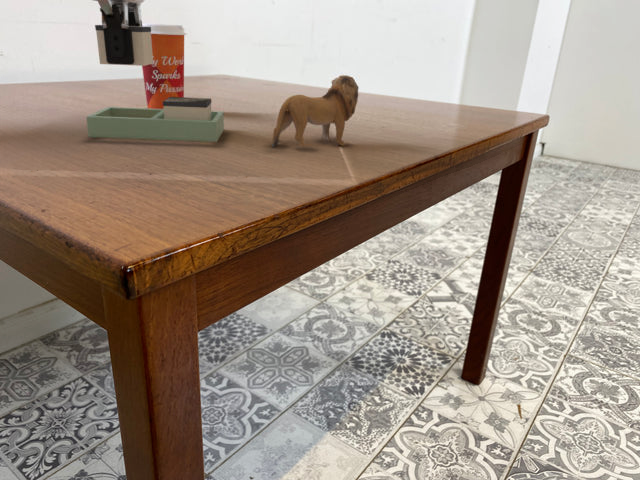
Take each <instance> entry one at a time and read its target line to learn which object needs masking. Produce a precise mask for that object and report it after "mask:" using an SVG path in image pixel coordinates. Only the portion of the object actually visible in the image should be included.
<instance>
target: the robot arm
mask: <svg viewBox="0 0 640 480" xmlns="http://www.w3.org/2000/svg"><path fill="white" fill-rule="evenodd" d="M94 1H96V2H97V3H98V5H99V11H100V13H101V25H102V26H103V28H104V29H103V32H104V41H105V50H106V60H107V62H108V63H109V64H108V65H111V64H133V63H134V52H133V41H132V30H128V26H142V23H143V19H142V10H141V6H142V3H144V2H145V1H146V0H93V2H94Z"/></svg>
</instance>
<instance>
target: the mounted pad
mask: <svg viewBox="0 0 640 480" xmlns="http://www.w3.org/2000/svg"><path fill="white" fill-rule="evenodd" d="M163 106H164V119H180V120H205V121H212V119H211V111H212V98H206V97H205V98H204V97H185V96H184V97H169V98H167V99H166V100H164V101H163Z"/></svg>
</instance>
